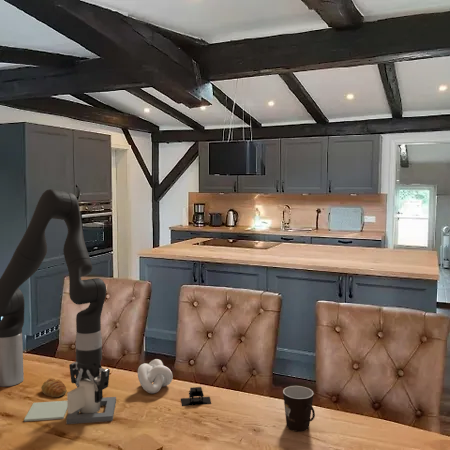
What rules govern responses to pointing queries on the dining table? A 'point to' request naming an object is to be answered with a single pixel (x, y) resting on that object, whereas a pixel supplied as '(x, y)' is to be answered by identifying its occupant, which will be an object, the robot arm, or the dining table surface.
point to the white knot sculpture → (154, 376)
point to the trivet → (47, 411)
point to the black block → (195, 398)
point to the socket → (94, 417)
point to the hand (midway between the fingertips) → (89, 399)
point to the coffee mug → (298, 407)
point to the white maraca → (83, 398)
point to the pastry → (53, 388)
